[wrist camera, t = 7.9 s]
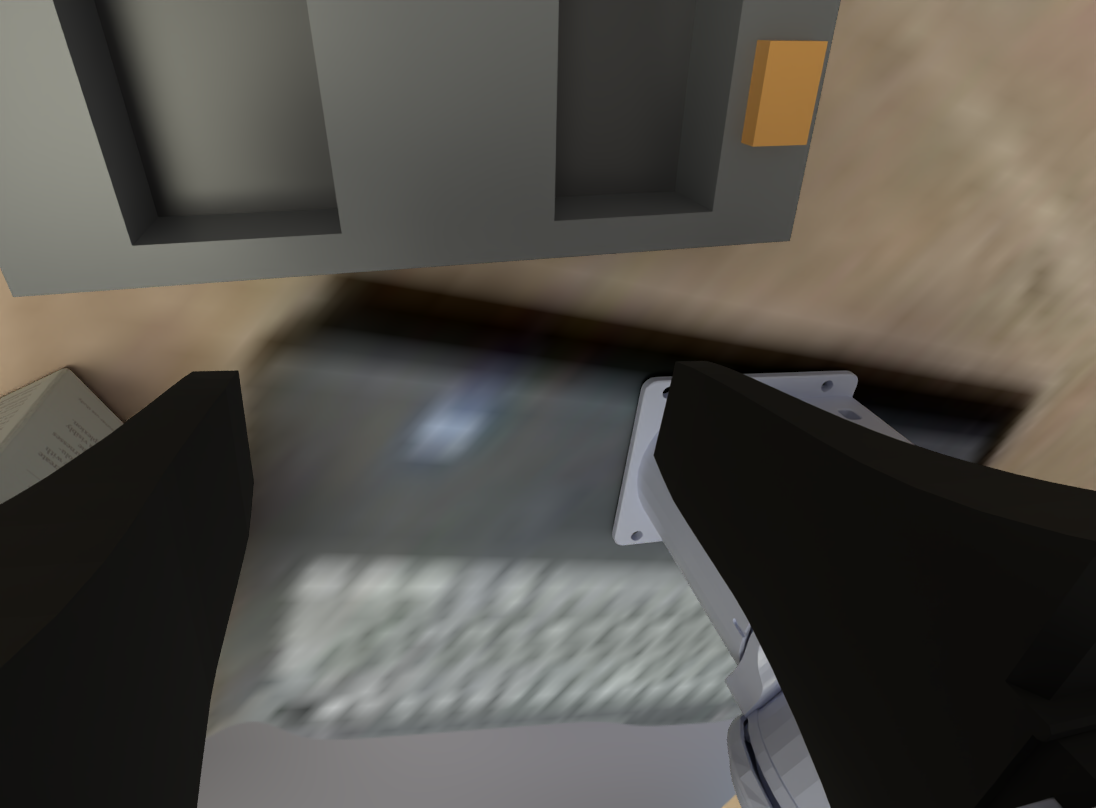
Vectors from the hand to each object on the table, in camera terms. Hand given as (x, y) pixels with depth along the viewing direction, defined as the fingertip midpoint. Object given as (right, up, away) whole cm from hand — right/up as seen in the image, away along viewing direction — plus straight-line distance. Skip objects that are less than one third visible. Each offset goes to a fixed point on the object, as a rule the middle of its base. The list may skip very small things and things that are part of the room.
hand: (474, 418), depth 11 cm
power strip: (-2, +9, +7) cm, 12 cm away
